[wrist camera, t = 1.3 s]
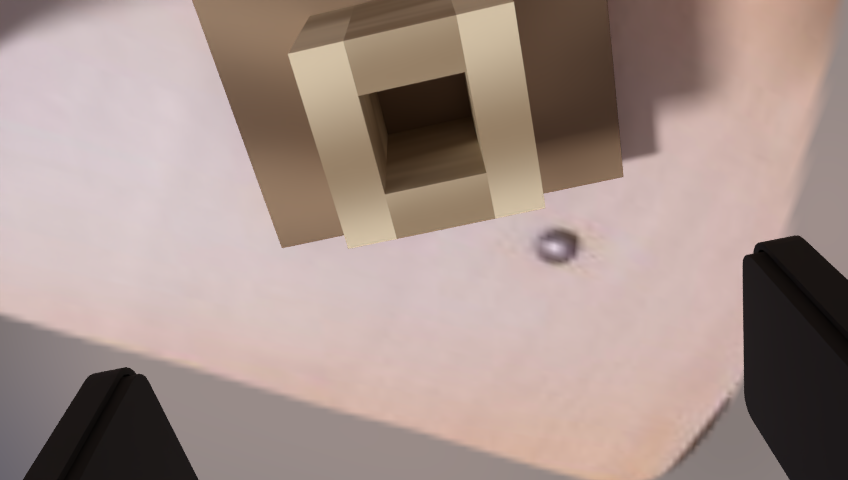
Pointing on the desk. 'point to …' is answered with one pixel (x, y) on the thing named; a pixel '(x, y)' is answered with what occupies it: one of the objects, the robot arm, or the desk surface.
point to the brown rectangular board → (411, 100)
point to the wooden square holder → (428, 146)
